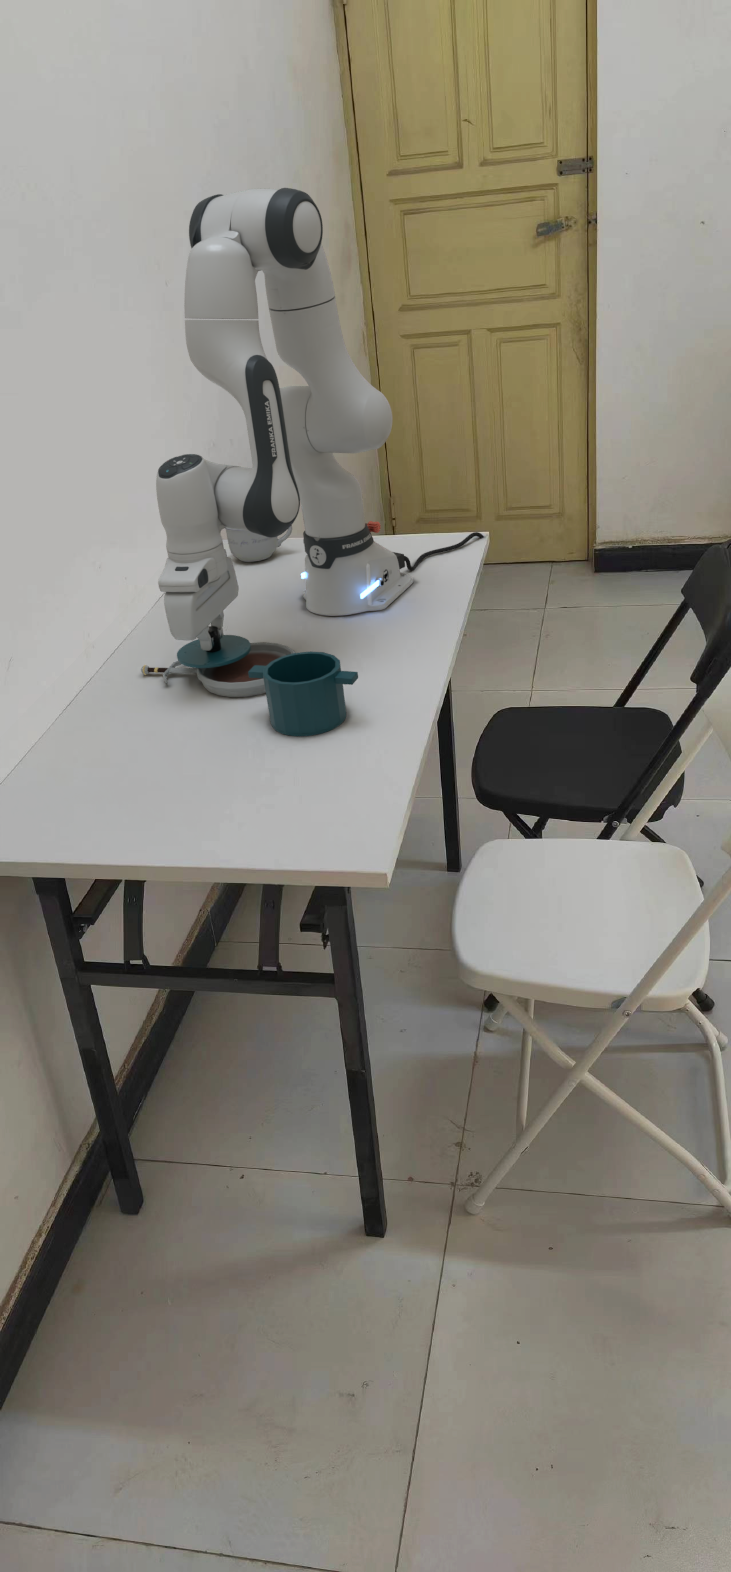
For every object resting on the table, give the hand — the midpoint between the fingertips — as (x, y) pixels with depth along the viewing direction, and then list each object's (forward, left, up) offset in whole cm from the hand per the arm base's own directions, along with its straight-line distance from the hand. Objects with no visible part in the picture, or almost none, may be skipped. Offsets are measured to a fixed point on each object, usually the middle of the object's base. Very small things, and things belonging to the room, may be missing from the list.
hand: (212, 643), depth 183 cm
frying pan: (0, 0, -6) cm, 6 cm away
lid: (0, 0, -2) cm, 2 cm away
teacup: (-50, -33, -6) cm, 60 cm away
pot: (+6, +24, -6) cm, 25 cm away
